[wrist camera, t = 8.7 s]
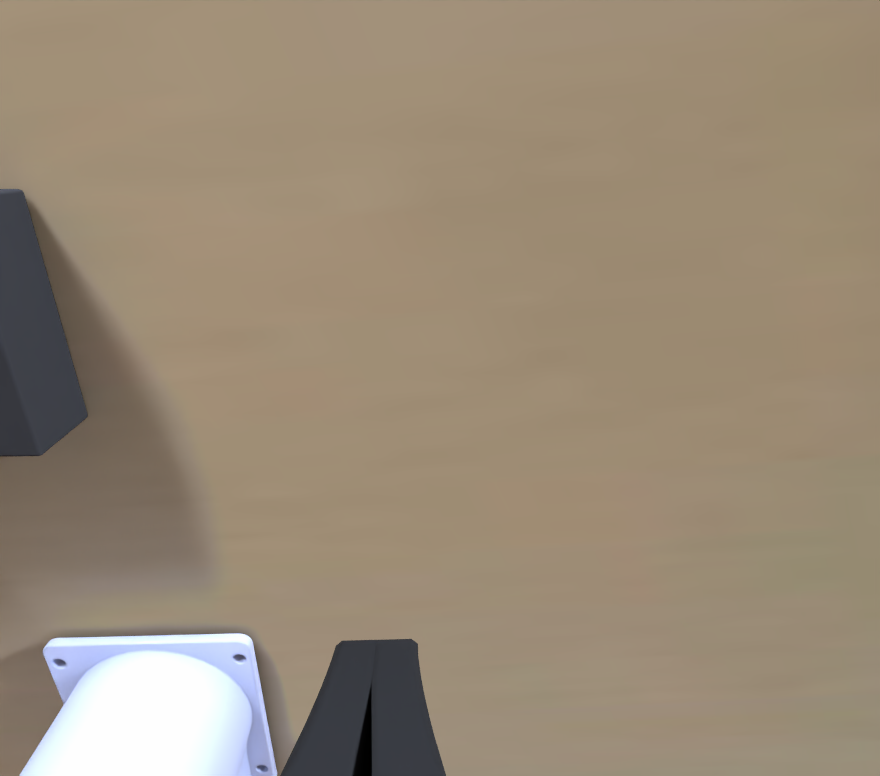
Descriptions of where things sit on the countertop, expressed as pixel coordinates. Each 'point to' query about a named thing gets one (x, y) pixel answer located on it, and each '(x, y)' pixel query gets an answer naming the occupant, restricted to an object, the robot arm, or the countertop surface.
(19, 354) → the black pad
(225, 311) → the countertop surface
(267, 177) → the countertop surface
